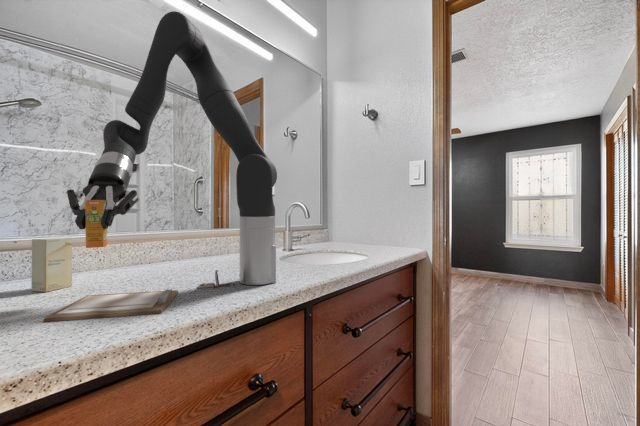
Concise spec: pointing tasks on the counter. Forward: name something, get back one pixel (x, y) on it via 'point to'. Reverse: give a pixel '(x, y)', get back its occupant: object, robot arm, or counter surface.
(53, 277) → the skincare box
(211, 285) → the strap clip
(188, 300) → the counter surface
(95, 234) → the supplement box
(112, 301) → the wooden board
